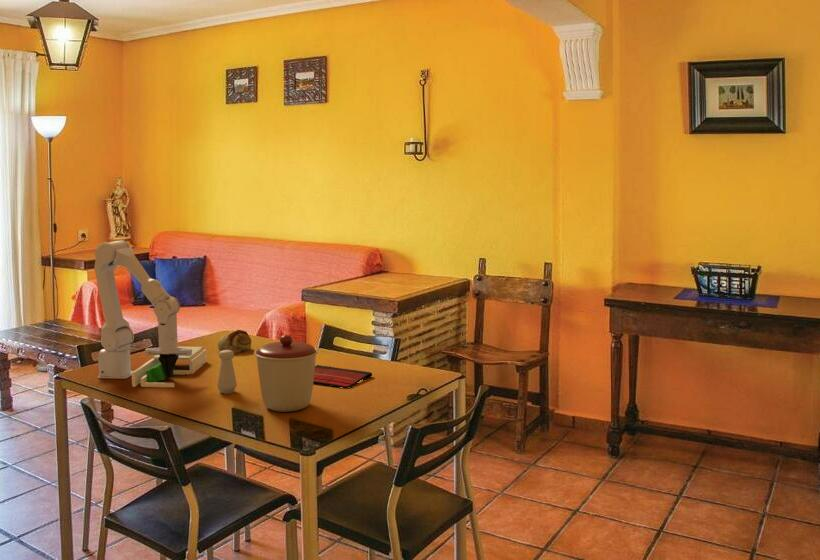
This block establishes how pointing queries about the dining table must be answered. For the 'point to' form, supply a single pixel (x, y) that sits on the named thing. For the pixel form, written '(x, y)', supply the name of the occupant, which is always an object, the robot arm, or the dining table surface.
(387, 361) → the dining table surface
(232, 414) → the dining table surface
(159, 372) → the pipe clamp
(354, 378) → the binder
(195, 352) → the door
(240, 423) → the dining table surface
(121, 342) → the robot arm
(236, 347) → the pastry
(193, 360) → the housing
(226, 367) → the salt shaker
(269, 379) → the canister
